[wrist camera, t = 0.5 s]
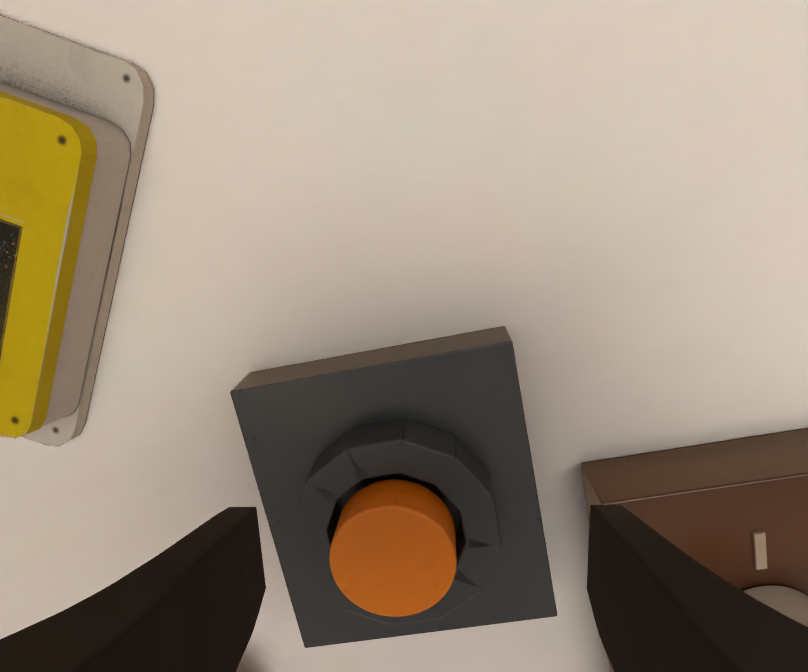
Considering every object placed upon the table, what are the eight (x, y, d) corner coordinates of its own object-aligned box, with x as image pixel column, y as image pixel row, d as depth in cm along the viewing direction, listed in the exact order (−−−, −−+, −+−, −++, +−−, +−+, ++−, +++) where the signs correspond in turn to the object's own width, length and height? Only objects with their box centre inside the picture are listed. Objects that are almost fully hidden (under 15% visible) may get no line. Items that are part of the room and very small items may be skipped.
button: (464, 573, 20) (466, 609, 18) (352, 588, 20) (344, 625, 18) (443, 469, 19) (443, 497, 17) (326, 488, 19) (315, 516, 18)
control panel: (856, 681, 24) (916, 753, 21) (615, 707, 25) (639, 779, 22) (851, 420, 21) (920, 459, 18) (580, 462, 22) (602, 506, 19)
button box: (547, 578, 24) (567, 654, 20) (316, 609, 25) (293, 686, 21) (504, 325, 21) (519, 356, 17) (249, 372, 22) (209, 410, 18)
